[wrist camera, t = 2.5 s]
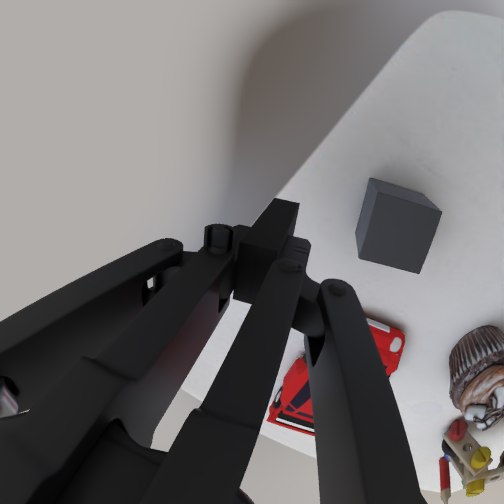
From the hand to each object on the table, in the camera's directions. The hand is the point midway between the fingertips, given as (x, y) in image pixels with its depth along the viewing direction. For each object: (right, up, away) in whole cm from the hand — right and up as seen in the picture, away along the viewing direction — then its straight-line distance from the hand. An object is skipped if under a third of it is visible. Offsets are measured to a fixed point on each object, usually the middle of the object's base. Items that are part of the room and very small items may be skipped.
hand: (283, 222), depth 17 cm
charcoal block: (+10, +1, +5) cm, 11 cm away
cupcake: (+25, -13, +8) cm, 30 cm away
